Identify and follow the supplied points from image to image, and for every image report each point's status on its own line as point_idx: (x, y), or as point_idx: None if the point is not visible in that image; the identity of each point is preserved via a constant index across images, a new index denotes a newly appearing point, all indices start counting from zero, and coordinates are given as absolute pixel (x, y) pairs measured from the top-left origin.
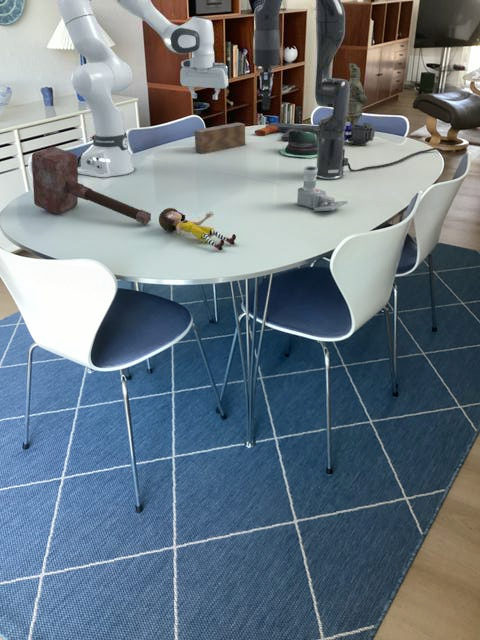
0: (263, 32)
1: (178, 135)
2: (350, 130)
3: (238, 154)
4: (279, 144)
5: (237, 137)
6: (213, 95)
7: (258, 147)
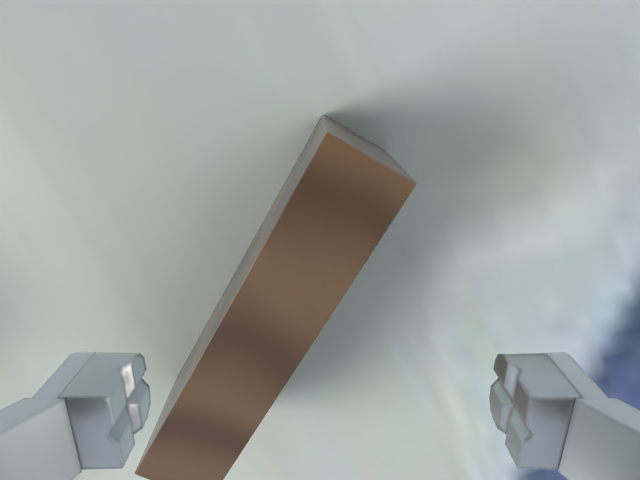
0: None
1: None
2: None
3: (96, 172)
4: None
5: (185, 370)
6: (91, 396)
7: (77, 351)
